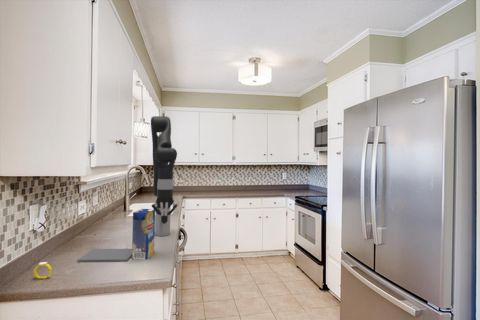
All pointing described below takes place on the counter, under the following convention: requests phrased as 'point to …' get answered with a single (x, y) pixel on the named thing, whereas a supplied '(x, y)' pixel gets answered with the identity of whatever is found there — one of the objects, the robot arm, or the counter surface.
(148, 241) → the beverage box
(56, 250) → the counter surface
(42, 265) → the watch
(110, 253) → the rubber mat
